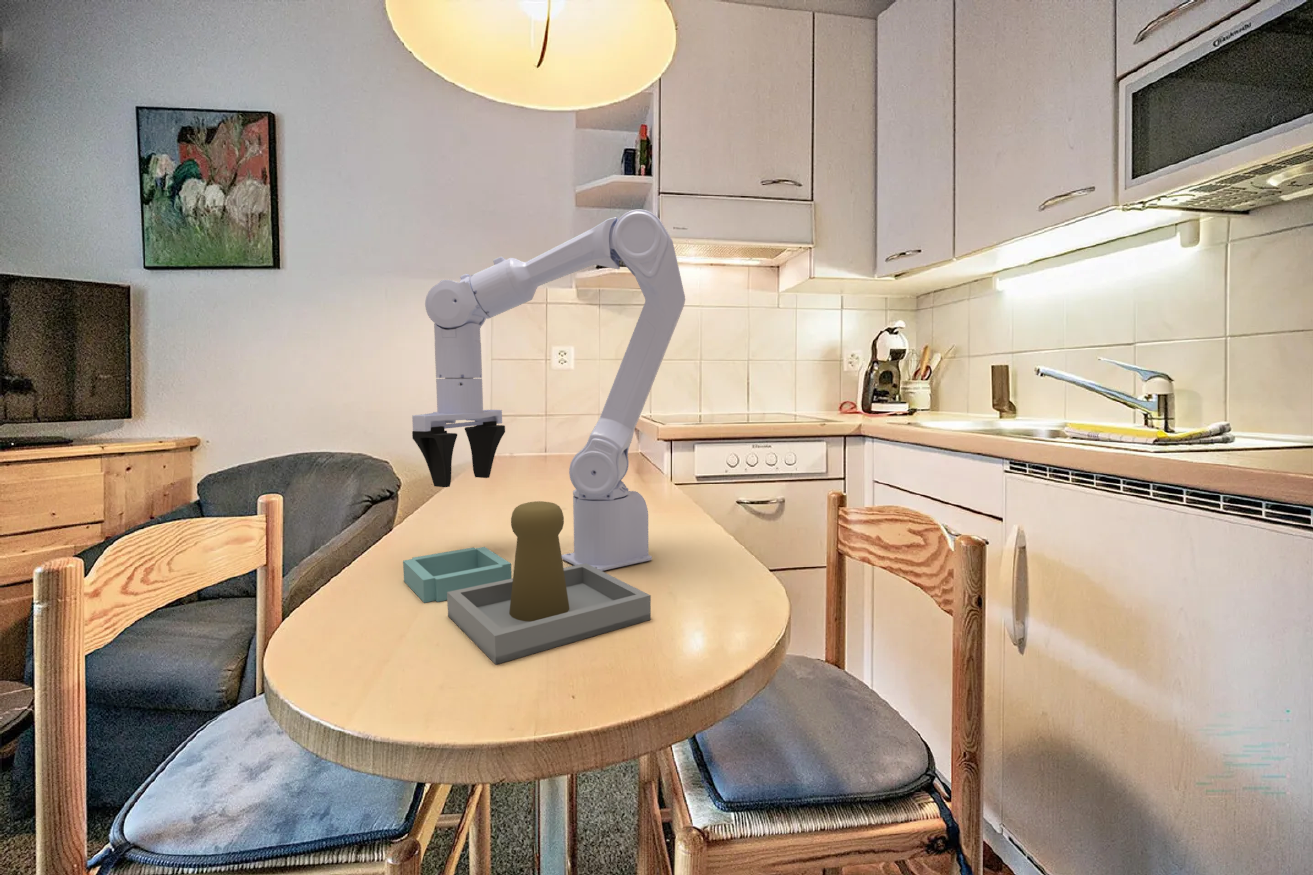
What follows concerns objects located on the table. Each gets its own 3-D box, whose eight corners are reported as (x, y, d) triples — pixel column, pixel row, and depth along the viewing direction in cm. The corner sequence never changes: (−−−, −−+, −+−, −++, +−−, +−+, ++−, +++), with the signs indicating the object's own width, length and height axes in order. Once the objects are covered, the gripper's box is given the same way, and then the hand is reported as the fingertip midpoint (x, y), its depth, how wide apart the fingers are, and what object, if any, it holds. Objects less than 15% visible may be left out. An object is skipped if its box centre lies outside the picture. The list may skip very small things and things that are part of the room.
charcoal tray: (586, 583, 70) (585, 563, 70) (650, 619, 60) (650, 595, 60) (447, 615, 61) (447, 591, 61) (495, 664, 51) (494, 635, 50)
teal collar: (483, 564, 78) (482, 545, 78) (513, 585, 70) (513, 564, 70) (402, 579, 72) (401, 559, 72) (425, 604, 64) (424, 581, 64)
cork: (575, 616, 59) (573, 506, 58) (513, 625, 57) (510, 511, 56) (562, 595, 65) (561, 495, 64) (505, 603, 63) (502, 499, 62)
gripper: (473, 378, 86) (476, 472, 88) (391, 378, 73) (396, 488, 75) (513, 378, 84) (515, 475, 85) (436, 378, 70) (440, 492, 72)
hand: (462, 481), depth 80 cm, fingers open, 7 cm apart
